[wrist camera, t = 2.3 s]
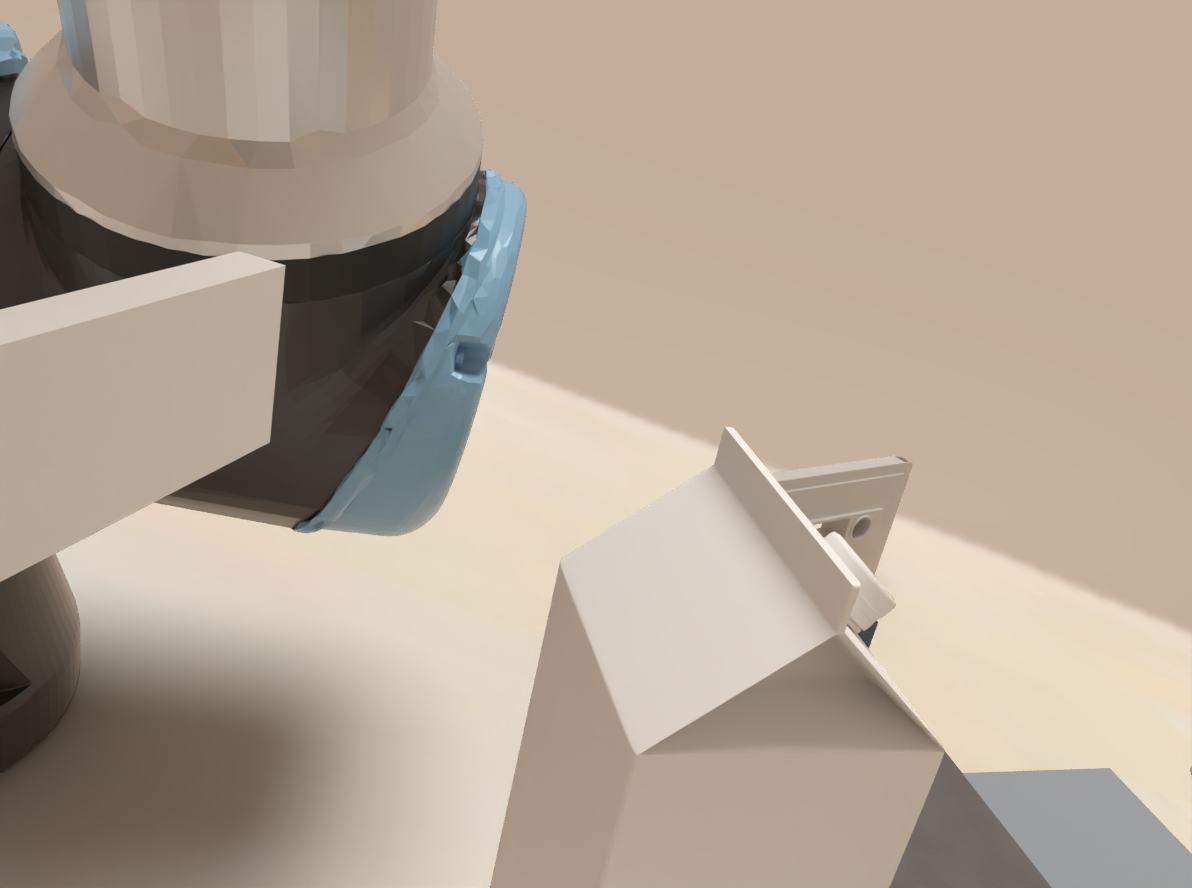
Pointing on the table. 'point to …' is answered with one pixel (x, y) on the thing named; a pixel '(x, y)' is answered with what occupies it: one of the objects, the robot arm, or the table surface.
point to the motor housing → (960, 838)
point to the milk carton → (715, 706)
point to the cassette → (851, 500)
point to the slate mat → (1085, 829)
